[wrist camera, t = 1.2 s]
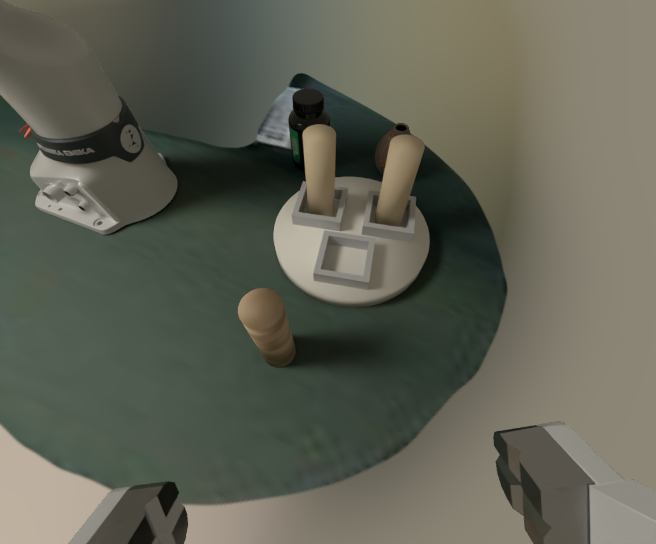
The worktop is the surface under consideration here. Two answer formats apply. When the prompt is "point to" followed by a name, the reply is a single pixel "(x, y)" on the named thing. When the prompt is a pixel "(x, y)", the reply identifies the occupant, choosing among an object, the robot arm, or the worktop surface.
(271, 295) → the stool leg
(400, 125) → the vase
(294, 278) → the stool seat
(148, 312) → the worktop surface
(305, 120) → the supplement bottle
